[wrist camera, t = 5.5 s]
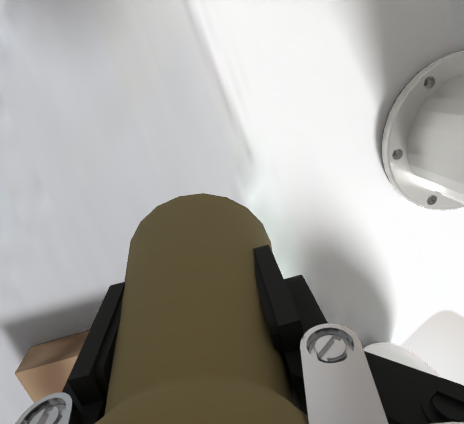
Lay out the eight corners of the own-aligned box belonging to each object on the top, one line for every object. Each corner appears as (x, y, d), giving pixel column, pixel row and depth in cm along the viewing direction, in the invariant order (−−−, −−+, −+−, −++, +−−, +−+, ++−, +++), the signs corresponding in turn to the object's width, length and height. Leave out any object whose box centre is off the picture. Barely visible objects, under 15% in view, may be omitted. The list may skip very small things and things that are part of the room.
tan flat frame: (244, 287, 30) (249, 308, 28) (273, 394, 36) (280, 420, 33) (31, 346, 30) (14, 373, 27) (91, 446, 35) (83, 476, 32)
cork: (185, 341, 15) (154, 846, 5) (96, 247, 13) (-245, 773, 3) (297, 275, 15) (518, 714, 4) (221, 163, 13) (304, 502, 2)
